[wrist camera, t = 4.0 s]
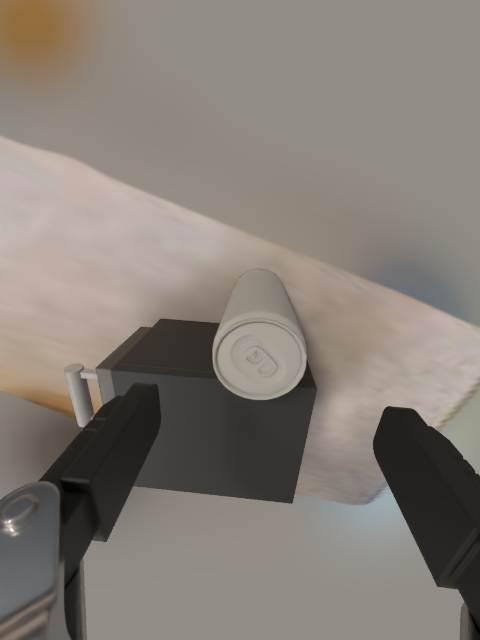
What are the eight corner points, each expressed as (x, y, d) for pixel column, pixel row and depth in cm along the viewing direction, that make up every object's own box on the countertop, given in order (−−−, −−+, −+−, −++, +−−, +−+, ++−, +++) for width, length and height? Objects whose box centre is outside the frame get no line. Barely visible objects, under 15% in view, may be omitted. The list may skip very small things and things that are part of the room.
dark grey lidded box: (167, 409, 29) (130, 486, 21) (160, 318, 25) (109, 369, 16) (282, 419, 28) (292, 503, 20) (296, 329, 24) (317, 388, 16)
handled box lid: (110, 405, 28) (63, 463, 22) (94, 322, 24) (31, 362, 18) (258, 419, 27) (258, 484, 21) (268, 336, 24) (271, 383, 17)
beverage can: (261, 256, 22) (264, 294, 10) (295, 295, 23) (330, 368, 12) (222, 291, 23) (189, 357, 12) (256, 326, 24) (254, 417, 13)
